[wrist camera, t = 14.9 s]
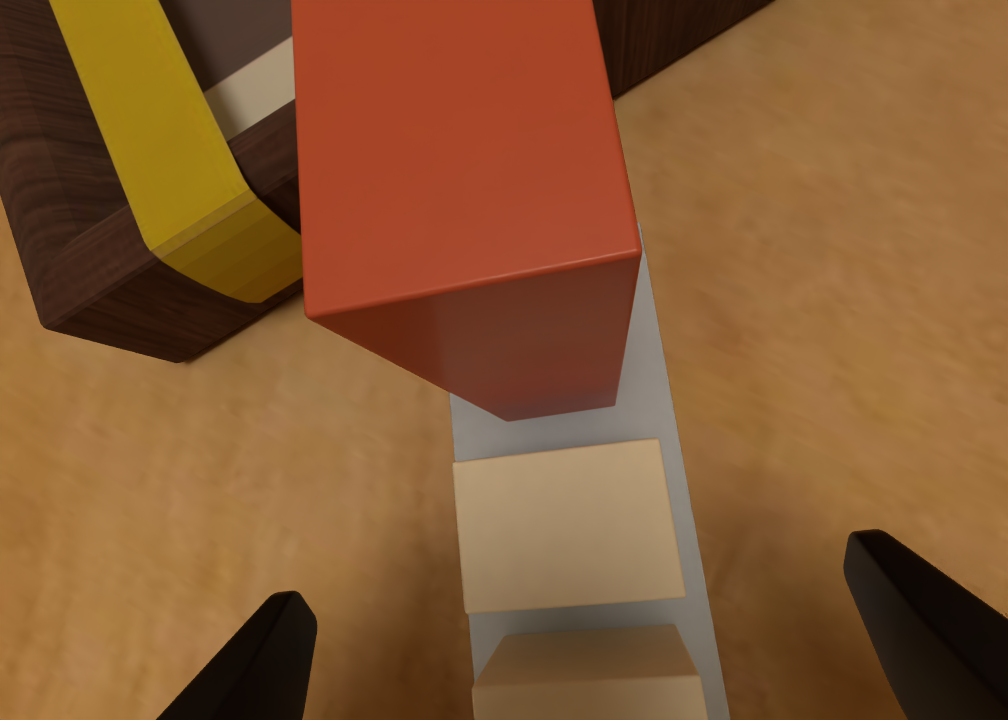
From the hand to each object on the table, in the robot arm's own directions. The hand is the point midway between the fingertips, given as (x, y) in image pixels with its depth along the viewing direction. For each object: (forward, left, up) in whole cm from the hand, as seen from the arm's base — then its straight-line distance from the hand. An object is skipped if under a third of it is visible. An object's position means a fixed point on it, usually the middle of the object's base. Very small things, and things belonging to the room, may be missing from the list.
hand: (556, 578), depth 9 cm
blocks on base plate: (+1, 0, -8) cm, 8 cm away
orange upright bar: (+6, 0, -8) cm, 10 cm away
